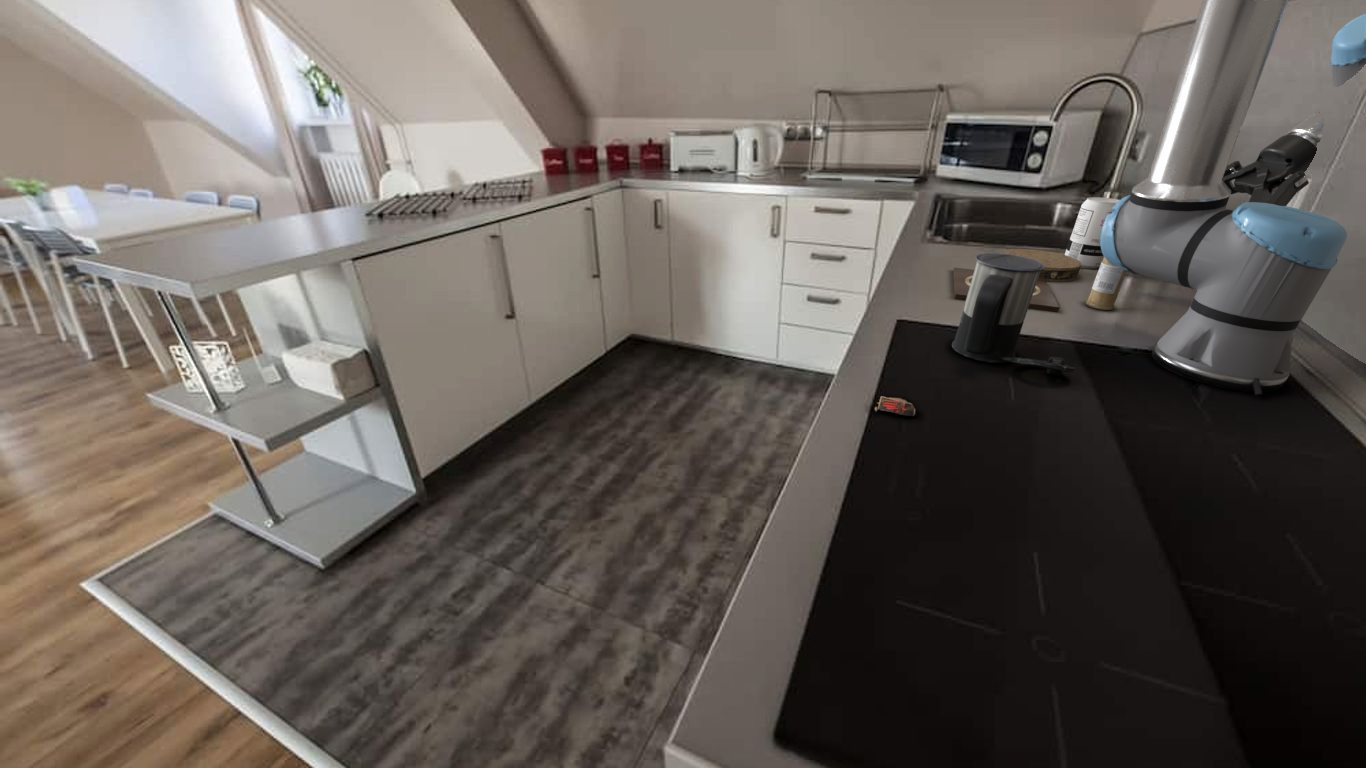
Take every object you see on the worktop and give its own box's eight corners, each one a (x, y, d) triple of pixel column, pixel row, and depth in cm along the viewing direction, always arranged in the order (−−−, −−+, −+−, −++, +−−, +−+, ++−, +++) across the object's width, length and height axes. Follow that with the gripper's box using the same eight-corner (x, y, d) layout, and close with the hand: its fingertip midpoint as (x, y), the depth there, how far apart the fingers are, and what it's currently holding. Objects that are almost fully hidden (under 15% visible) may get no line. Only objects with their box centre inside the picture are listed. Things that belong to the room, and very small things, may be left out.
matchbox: (917, 418, 71) (918, 414, 70) (876, 414, 71) (876, 411, 71) (910, 400, 75) (910, 396, 74) (870, 396, 75) (871, 393, 75)
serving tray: (1057, 312, 105) (1059, 306, 105) (954, 298, 111) (956, 293, 111) (1042, 282, 122) (1044, 277, 121) (953, 271, 128) (954, 266, 127)
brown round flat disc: (986, 260, 136) (990, 248, 135) (1052, 262, 136) (1056, 249, 134) (1018, 280, 122) (1022, 267, 121) (1092, 282, 122) (1097, 269, 120)
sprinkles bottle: (1118, 308, 107) (1146, 238, 101) (1103, 312, 106) (1132, 241, 99) (1093, 301, 111) (1119, 233, 105) (1079, 304, 109) (1105, 235, 103)
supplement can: (1069, 257, 139) (1091, 195, 132) (1107, 265, 134) (1132, 200, 127) (1056, 263, 135) (1078, 199, 128) (1095, 271, 129) (1120, 204, 122)
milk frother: (950, 336, 94) (973, 249, 87) (1056, 351, 89) (1090, 260, 82) (953, 371, 83) (980, 274, 76) (1075, 391, 78) (1116, 289, 71)
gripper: (1388, 177, 84) (1237, 271, 92) (1248, 158, 106) (1135, 235, 114) (1372, 138, 82) (1219, 238, 89) (1232, 127, 104) (1119, 208, 111)
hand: (1172, 237), depth 102 cm, fingers open, 13 cm apart
